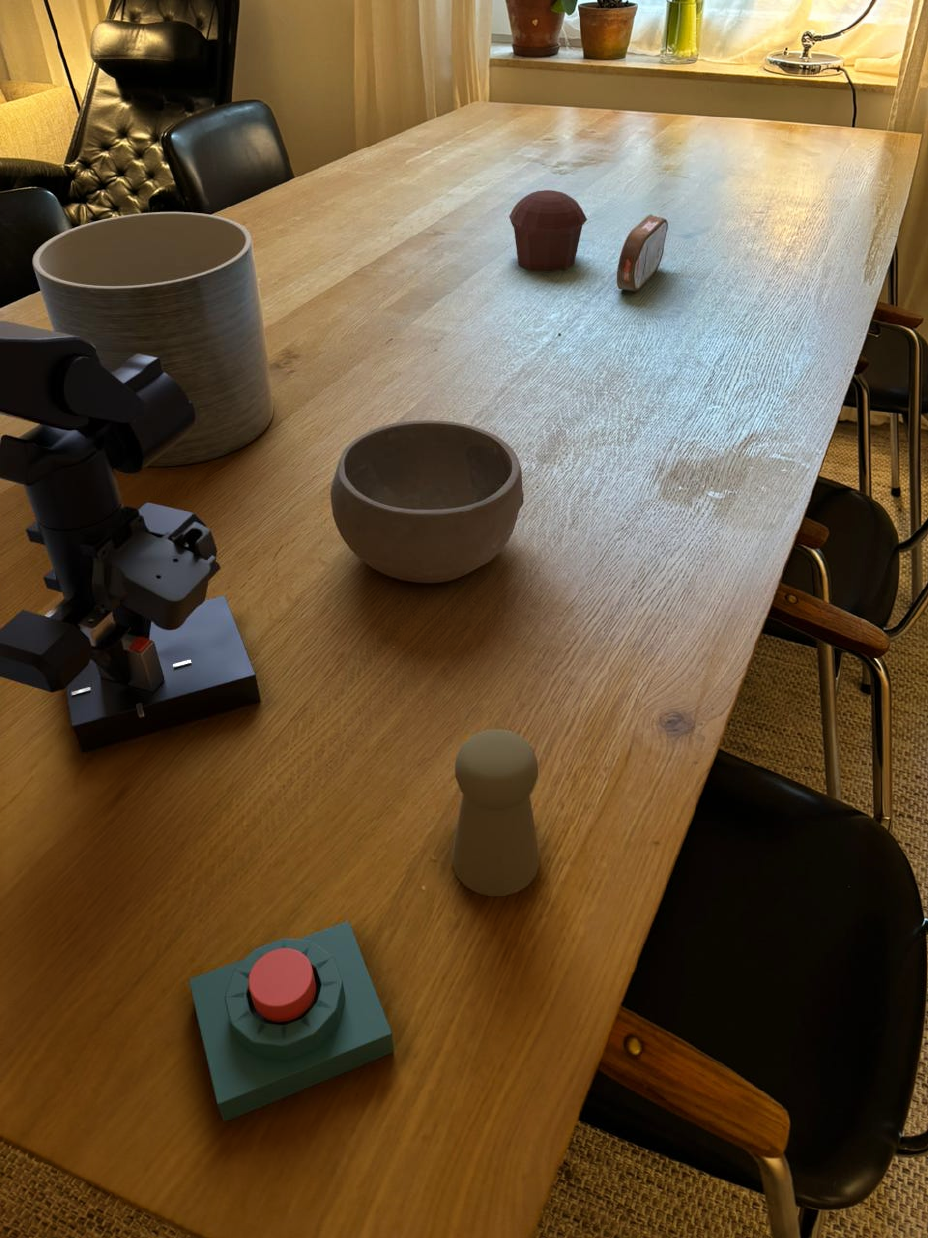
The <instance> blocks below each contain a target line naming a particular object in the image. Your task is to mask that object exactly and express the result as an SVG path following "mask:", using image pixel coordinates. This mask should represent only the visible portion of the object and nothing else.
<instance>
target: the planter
mask: <svg viewBox="0 0 928 1238" xmlns="http://www.w3.org/2000/svg"><path fill="white" fill-rule="evenodd" d="M255 257H256V256H255V251H254V242H253V237H252V235H251V233H250V231H249V229H248V228H246V227H245V226H243V225H242V224H240V223H239V222H236V221H234V220H232V219H229V218H226V217H222V216H218V215H213V214H207V213H201V212H200V213H199V212H187V211H186V212H184V211H160V212H159V211H157V212H155V211H154V212H142V213H133V214H127V215H126V214H125V215H120V216H114V217H109V218H105V219H100V220H96V221H92V222H89V223H84V224H82V225H79V226H76V227H73V228H71V229H68V230H65V231H63V232H61V233H59V234H57V235H55V236H53V237H52V238H50V239H48V240H47V241H45V242H44V243H43V244H41V245H40V246H39V247H38V248H37V250H35V252H34V254H33V257H32V268H33V270H34V273H35V277H36V280H37V284H38V286H39V289H40V290H39V291H40V293H41V296H42V299H43V303H44V306H45V309H46V312H47V315H48V320H49V322H50V325H51V328H52V331H55V332H60V333H65V334H70V335H74V336H79V337H81V338H84V339H86V340H89V341H90V342H91V343H92V344H93V345H95V347H96V354H97V355H98V357H99V359H100V363H101V365H102V366H103V367H104V368H105V369H107V370H108V371H109V372H110V373H112V372H113V371H115V370H117V369H118V368H120V367H121V366H122V365H123V364H124V363H125V362H126V361H127V360H128V359H129V358H131V357H132V356H134V355H135V354H137V353H138V354H143V355H147V356H152V357H157V358H159V359H161V363H162V368H163V372H164V373H166V374H167V375H168V376H170V377H171V378H172V379H174V380H175V381H176V382H177V383H178V384H179V386H180V387H181V388H182V389H183V391H184V392H185V394H186V395H187V397H188V399H189V401H191V402H192V403H193V406H194V410H195V419H196V420H195V425H194V428H193V430H192V431H191V433H189V434H188V435H187V436H186V437H184V438H183V439H182V440H180V441H179V442H178V443H176V444H175V445H174V446H173V447H171V448H170V449H169V450H167V451H166V452H165V453H163V454H162V455H161V456H159V457H158V458H157V459H155V460H154V461H153V462H151V463H150V464H149V465H148V466H147V467H176V466H185V465H191V464H192V465H193V464H197V463H202V462H205V461H206V462H207V461H210V460H215V459H217V458H220V457H223V456H225V455H228V454H231V453H234V452H235V451H237V450H240V449H242V448H243V447H245V446H247V445H248V444H250V443H251V442H253V441H255V440H256V439H257V438H258V437H260V435H262V433H264V431H265V430H266V429H267V428H268V426H269V425H270V423H271V421H272V420H273V419H272V418H273V416H274V399H273V392H272V386H271V376H270V368H269V360H268V359H269V358H268V350H267V341H266V333H265V325H264V317H263V308H262V302H261V301H262V300H261V293H260V287H259V286H260V285H259V279H258V271H257V264H256V258H255Z"/></svg>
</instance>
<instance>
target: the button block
mask: <svg viewBox="0 0 928 1238" xmlns="http://www.w3.org/2000/svg"><path fill="white" fill-rule="evenodd" d="M283 948H287V949H294V950H297V951H299V952H301V953H302V954H304V955H305V956H306V957H307V958H308V959H309V961H310V963H311V965H312V969H313V973H314V978H315V983H316V994H315V998H314V1000H313V1002H312V1004H311V1006H310V1007H309V1008H308V1010H307V1011H306V1012H305V1013H304V1014H302V1015H301V1016H299V1017H298V1018H296V1019H294V1020H291V1021H287V1022H273V1021H270V1020H267V1019H265V1018H264V1017H262V1016H261V1015H260V1014H259V1013H258V1012H257V1010H256V1009H255V1006H254V1004H253V1000H252V997H251V993H250V990H249V985H248V980H249V975H250V972H251V970H252V968H253V966H254V965H255V963H256V962H257V961H258V960H259V959H260V958H261V957H262V956H264V955H265V954H267V953H268V952H271V951H273V950H276V949H283ZM188 984H189V987H190V991H191V996H192V1001H193V1006H194V1009H195V1014H196V1018H197V1023H198V1027H199V1031H200V1035H201V1040H202V1044H203V1049H204V1053H205V1057H206V1061H207V1065H208V1070H209V1073H210V1074H209V1075H210V1079H211V1084H212V1088H213V1092H214V1096H215V1101H216V1105H217V1107H218V1110H219V1113H220V1115H221V1118H222V1120H223V1122H224V1123H225V1122H228V1121H231V1120H234V1119H235V1118H238V1117H241V1116H243V1115H245V1114H248V1113H250V1112H253V1111H255V1110H258V1109H260V1108H262V1107H265V1106H267V1105H269V1104H272V1103H274V1102H277V1101H279V1100H281V1099H284V1098H287V1097H289V1096H292V1095H294V1094H296V1093H299V1092H301V1091H303V1090H306V1089H308V1088H310V1087H311V1088H312V1087H313V1086H315V1085H318V1084H320V1083H323V1082H325V1081H327V1080H330V1079H332V1078H334V1077H337V1076H340V1075H342V1074H344V1073H347V1072H349V1071H352V1070H354V1069H356V1068H359V1067H361V1066H364V1065H366V1064H368V1063H372V1062H374V1061H376V1060H379V1059H382V1058H383V1057H386V1056H388V1055H390V1054H393V1053H395V1048H394V1047H395V1046H394V1038H393V1032H392V1030H391V1027H390V1025H389V1022H388V1020H387V1016H386V1014H385V1012H384V1009H383V1006H382V1004H381V1001H380V999H379V996H378V993H377V991H376V988H375V985H374V982H373V979H372V977H371V975H370V973H369V970H368V967H367V965H366V962H365V960H364V957H363V953H362V952H361V949H360V946H359V943H358V941H357V938H356V936H355V934H354V931H353V928H352V925H351V923H350V921H349V920H346V921H344V922H341V923H339V924H336V925H333V926H330V927H328V928H325V929H322V930H320V931H317V932H314V933H311V934H308V935H306V936H304V937H301V938H298V939H297V938H287V937H286V938H285V937H284V938H280V939H277V940H274V941H272V942H269V943H266V944H264V945H261V946H259V947H256V948H255V949H253V950H252V951H251V952H250V953H249V954H248V955H247V956H246V957H245V958H243V959H240V960H238V961H235V962H232V963H230V964H227V965H223V966H221V967H217V968H215V969H213V970H211V971H208V972H205V973H202V974H200V975H199V974H198V975H197V976H194V977H192V978H189V979H188Z"/></svg>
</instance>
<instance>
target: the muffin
mask: <svg viewBox="0 0 928 1238" xmlns="http://www.w3.org/2000/svg"><path fill="white" fill-rule="evenodd" d="M508 217H509V220H510V223H511V225H512V227H513V231H514V239H515V247H516V255H517V263H518V266H519V267H522V268H525V269H526V270H528V271H531V272H542V273H551V272H559V271H566V270H567V269H568V268H570V267H571V266H574V265H575V263H576V257H577V254H578V249H579V243H580V239H581V233H582V229H583V225H584V224H585V223H586V222H587V220H588V218H587V217H586V214H585V213H584V211H583V209H582V207H581V205H580V204H579V203H578V201H577V200H576V199H574V198H573V197H572V196H570V195H568V194H567V193H565V192H562V191H557V190H552V189H551V190H550V189H545V190H543V189H542V190H537V191H534V192H533V191H532V192H531V193H529V194H526V195H525V196H524V197H522V198H521V199H520V200H518V202H517V203H516V204H515V206H514V207H513V208H512V210H511V213H509V215H508Z"/></svg>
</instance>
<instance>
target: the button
mask: <svg viewBox="0 0 928 1238" xmlns="http://www.w3.org/2000/svg"><path fill="white" fill-rule="evenodd" d="M248 985H249V990H250V993H251V997H252V1000H253V1004H254V1006H255V1009H256V1010H257V1012H258V1013H259V1014H260V1015H261V1016H262V1017H264V1018H265V1019H267V1020H270V1021H273V1022H287V1021H291V1020H294V1019H296V1018H298V1017H299V1016H301V1015H302V1014H304V1013H305V1012H306V1011H307V1010H308V1008H309V1007H310V1006H311V1004H312V1002H313V1000H314V998H315V994H316V983H315V978H314V973H313V969H312V965H311V963H310V961H309V959H308V958H307V957H306V956H305V955H304V954H302V953H301V952H299V951H297V950H294V949H287V948H283V949H276V950H273V951H271V952H268V953H267V954H265V955H264V956H262V957H261V958H260V959H259V960H258V961H257V962H256V963H255V965H254V966H253V968H252V970H251V972H250V975H249V980H248Z"/></svg>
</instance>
